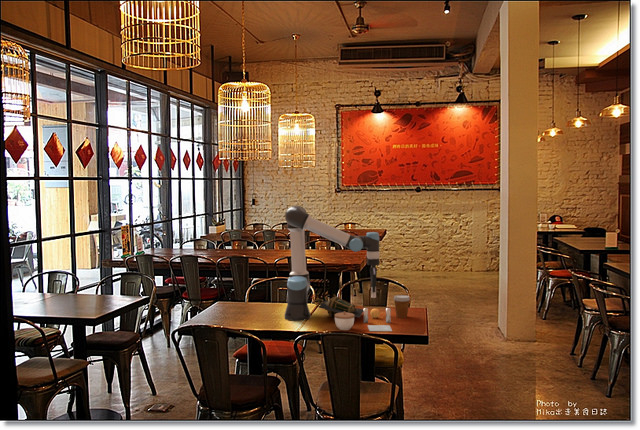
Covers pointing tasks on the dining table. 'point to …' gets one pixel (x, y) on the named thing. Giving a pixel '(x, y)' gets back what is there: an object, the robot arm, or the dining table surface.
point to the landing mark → (379, 328)
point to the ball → (374, 313)
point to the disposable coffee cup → (401, 305)
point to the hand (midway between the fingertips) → (373, 297)
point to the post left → (365, 315)
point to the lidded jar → (344, 320)
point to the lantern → (339, 307)
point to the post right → (388, 315)
